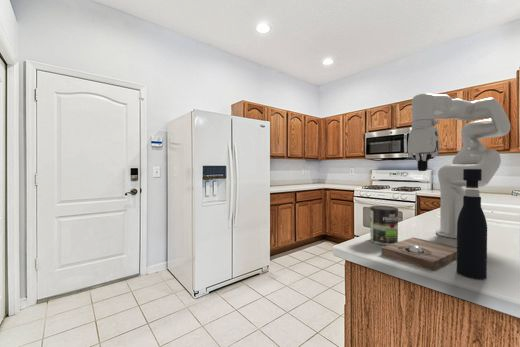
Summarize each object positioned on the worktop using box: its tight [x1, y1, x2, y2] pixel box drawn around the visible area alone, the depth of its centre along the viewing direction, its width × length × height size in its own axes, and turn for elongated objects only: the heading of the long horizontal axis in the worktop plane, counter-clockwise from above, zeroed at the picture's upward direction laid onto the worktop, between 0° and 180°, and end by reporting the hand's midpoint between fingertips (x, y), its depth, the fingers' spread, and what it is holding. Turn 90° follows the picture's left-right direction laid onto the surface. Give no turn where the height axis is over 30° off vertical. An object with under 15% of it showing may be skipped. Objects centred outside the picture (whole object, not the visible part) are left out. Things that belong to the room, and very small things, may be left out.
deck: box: [380, 237, 457, 271], centre depth 84 cm, size 22×16×2 cm
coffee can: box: [369, 205, 399, 246], centre depth 99 cm, size 10×10×14 cm
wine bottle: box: [456, 169, 488, 280], centre depth 68 cm, size 6×6×30 cm
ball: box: [409, 246, 423, 254], centre depth 81 cm, size 4×4×4 cm
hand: (422, 170), depth 97 cm, fingers closed
